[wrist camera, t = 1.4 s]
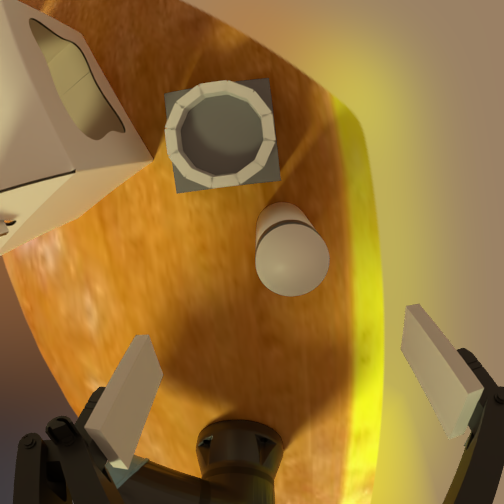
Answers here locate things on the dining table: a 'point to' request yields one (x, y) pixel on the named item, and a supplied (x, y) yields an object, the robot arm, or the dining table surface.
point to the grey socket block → (222, 135)
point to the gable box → (56, 127)
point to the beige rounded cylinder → (289, 251)
